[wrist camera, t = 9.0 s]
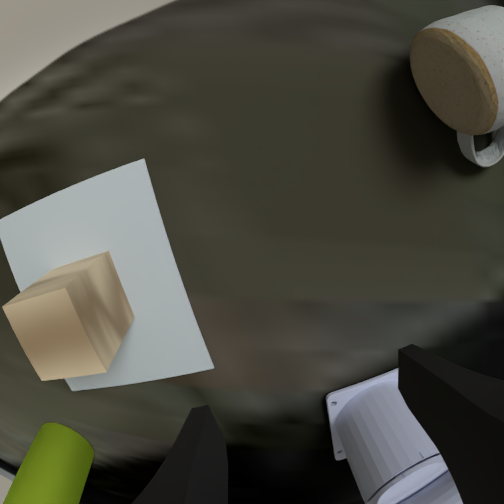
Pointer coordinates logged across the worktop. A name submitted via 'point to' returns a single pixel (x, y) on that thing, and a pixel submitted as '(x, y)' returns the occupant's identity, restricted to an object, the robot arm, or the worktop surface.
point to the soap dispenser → (52, 468)
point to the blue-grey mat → (126, 264)
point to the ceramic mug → (465, 77)
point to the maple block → (72, 318)
